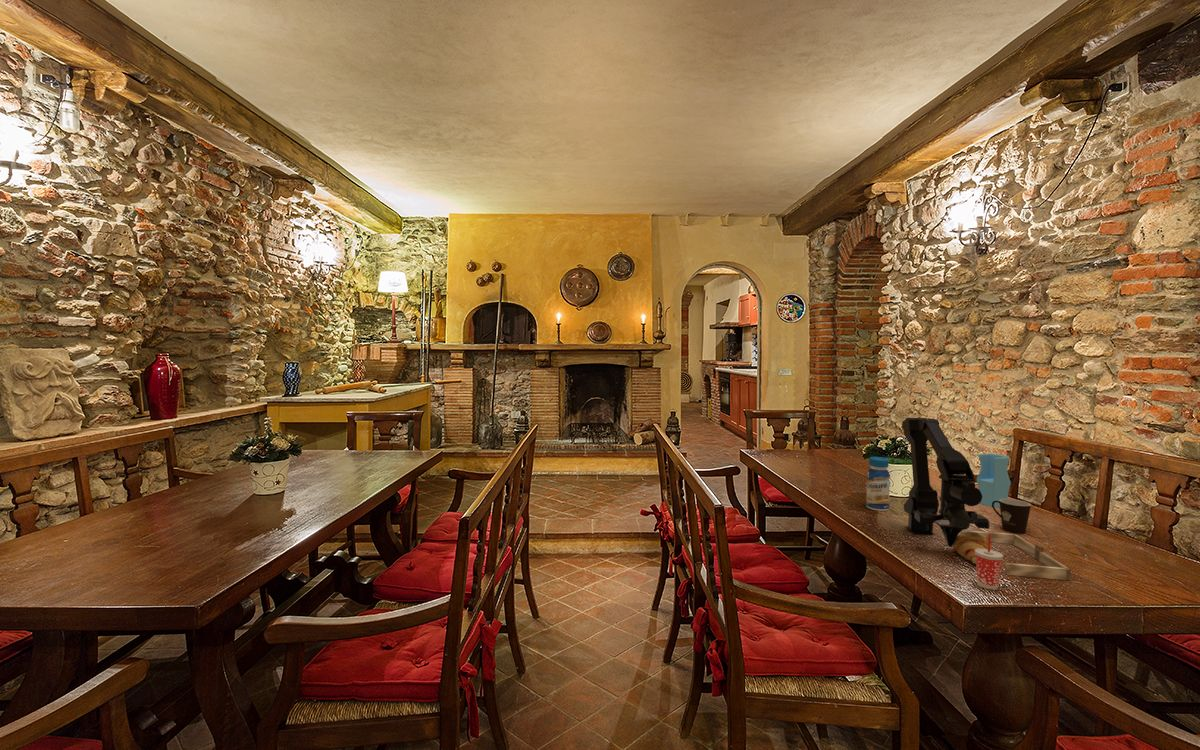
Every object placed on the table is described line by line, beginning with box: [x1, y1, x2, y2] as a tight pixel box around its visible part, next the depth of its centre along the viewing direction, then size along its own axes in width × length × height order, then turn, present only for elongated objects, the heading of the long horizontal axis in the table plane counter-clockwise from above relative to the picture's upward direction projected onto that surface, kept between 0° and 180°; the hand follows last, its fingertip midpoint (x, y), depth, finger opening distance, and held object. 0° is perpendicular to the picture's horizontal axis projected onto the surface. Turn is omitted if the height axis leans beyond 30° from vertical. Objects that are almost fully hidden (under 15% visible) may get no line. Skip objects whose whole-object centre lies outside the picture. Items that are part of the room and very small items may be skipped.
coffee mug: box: [991, 498, 1032, 535], centre depth 183 cm, size 12×9×10 cm
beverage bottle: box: [865, 456, 891, 512], centre depth 206 cm, size 8×8×20 cm
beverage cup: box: [975, 534, 1004, 591], centre depth 139 cm, size 6×6×14 cm
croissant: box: [952, 532, 994, 565], centre depth 160 cm, size 21×10×8 cm, turn 154°
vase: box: [976, 453, 1012, 509], centre depth 212 cm, size 8×8×20 cm
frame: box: [963, 529, 1072, 581], centre depth 158 cm, size 15×28×4 cm, turn 166°
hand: (949, 546), depth 162 cm, fingers closed
